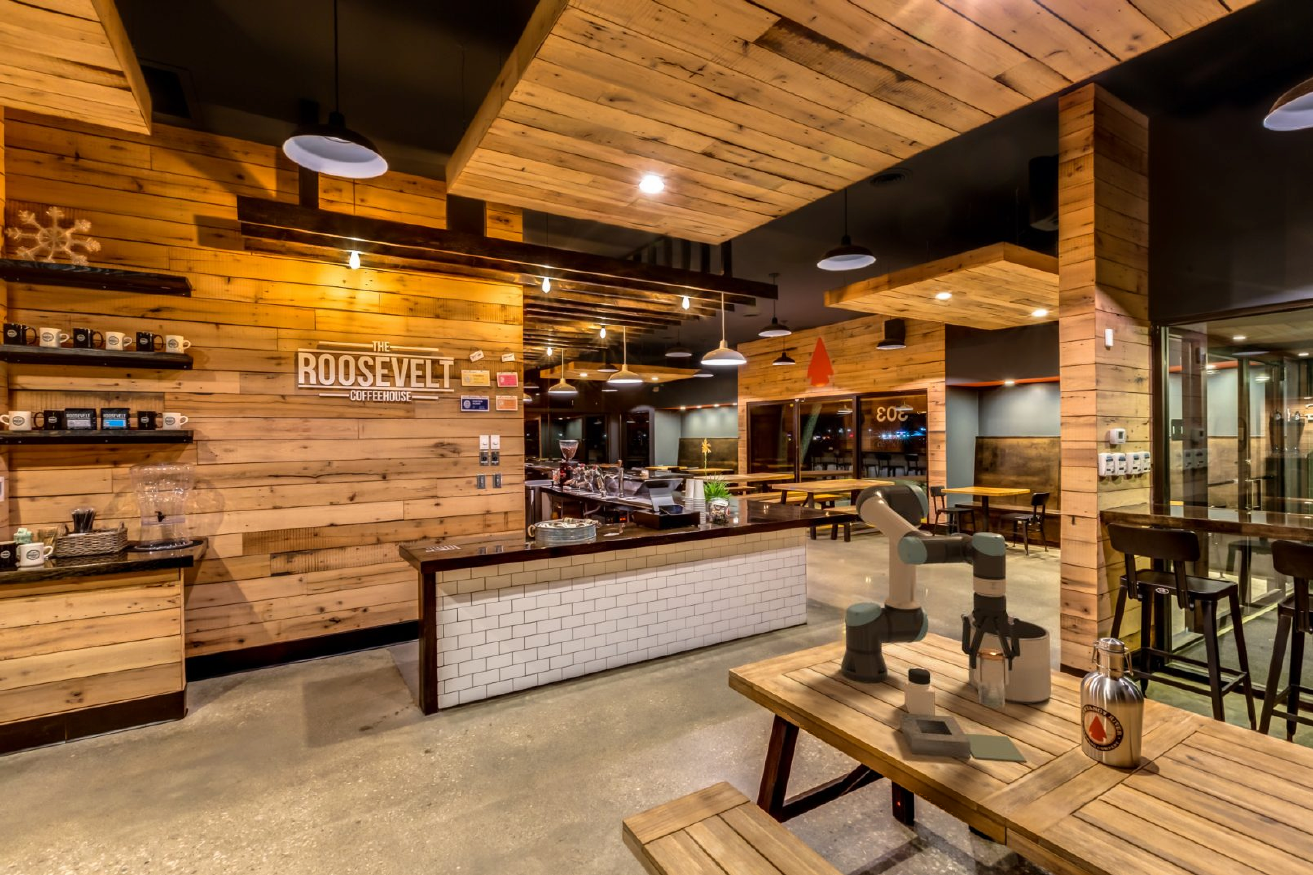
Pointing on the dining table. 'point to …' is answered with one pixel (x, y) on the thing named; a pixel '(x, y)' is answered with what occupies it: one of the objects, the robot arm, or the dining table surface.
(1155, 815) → the dining table surface
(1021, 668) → the planter
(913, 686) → the medicine bottle
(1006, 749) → the mat
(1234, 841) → the dining table surface
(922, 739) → the housing
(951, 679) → the dining table surface
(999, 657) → the glass jar
